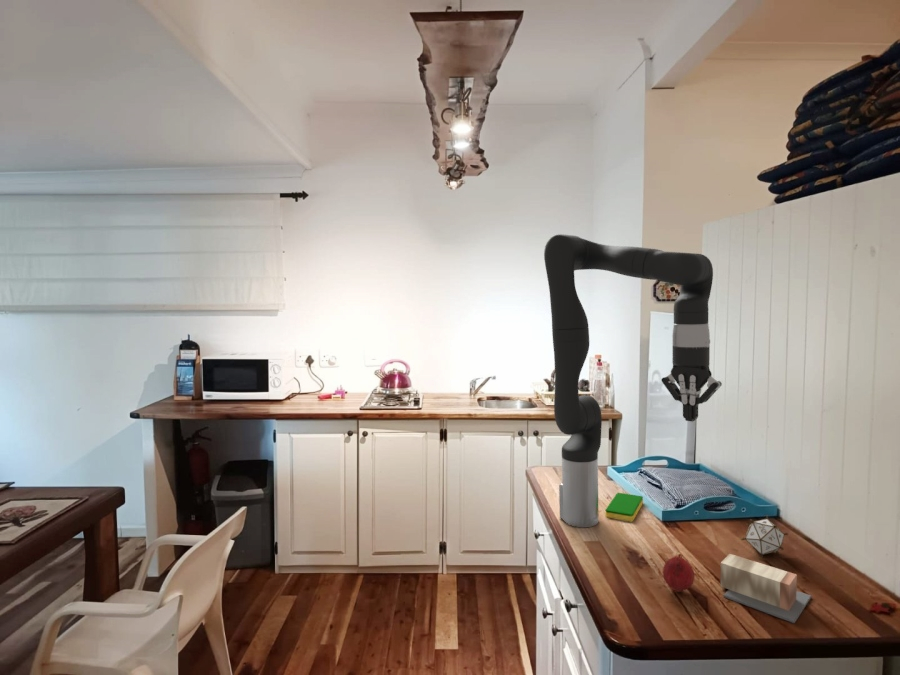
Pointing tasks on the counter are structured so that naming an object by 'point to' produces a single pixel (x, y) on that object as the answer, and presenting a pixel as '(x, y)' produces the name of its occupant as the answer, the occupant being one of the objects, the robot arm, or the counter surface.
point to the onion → (678, 573)
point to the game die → (764, 536)
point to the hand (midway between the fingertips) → (690, 420)
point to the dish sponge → (624, 507)
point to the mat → (771, 609)
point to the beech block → (759, 581)
